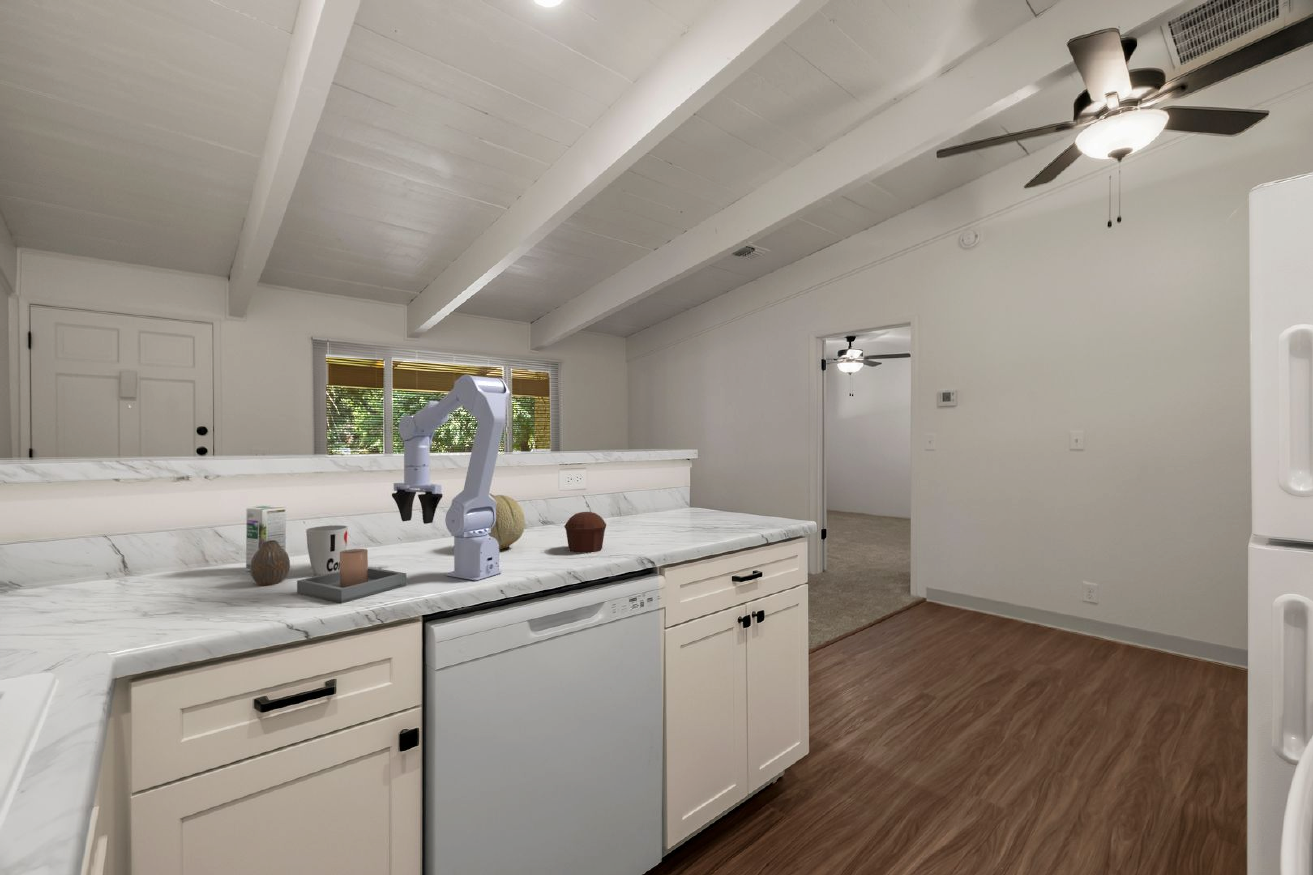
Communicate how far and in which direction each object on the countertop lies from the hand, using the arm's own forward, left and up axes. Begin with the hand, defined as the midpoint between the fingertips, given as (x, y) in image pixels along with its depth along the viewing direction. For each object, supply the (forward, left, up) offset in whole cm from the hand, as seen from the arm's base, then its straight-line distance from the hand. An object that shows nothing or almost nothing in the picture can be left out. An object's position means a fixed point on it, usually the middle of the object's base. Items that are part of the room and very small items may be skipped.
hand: (417, 521), depth 138 cm
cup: (+10, +16, -10) cm, 21 cm away
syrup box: (+25, +21, -10) cm, 34 cm away
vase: (+12, +27, -10) cm, 31 cm away
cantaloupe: (-5, -22, -10) cm, 25 cm away
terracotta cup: (-8, +22, -9) cm, 25 cm away
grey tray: (-8, +22, -10) cm, 25 cm away
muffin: (-27, -32, -10) cm, 43 cm away
